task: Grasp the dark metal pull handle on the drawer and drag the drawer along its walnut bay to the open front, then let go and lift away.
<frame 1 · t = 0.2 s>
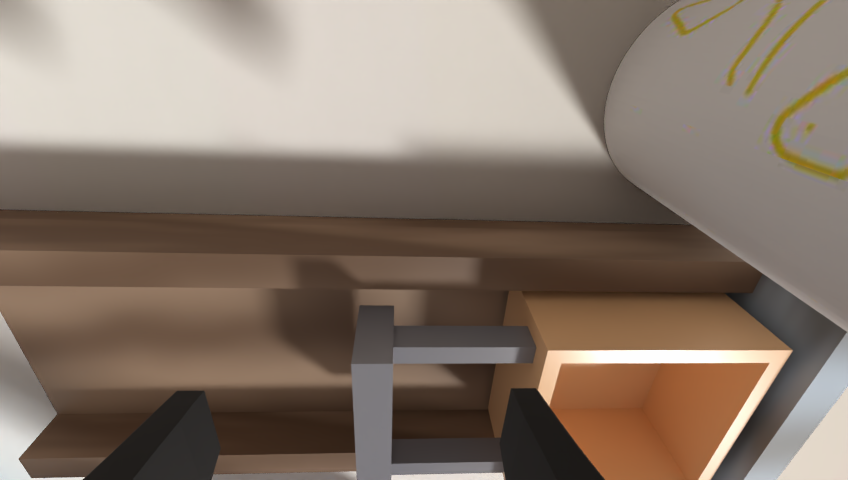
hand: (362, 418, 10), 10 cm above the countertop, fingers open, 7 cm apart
cup: (701, 99, 16), on the countertop
drawer: (536, 386, 18), point 4 cm above the countertop, slide at 0.0 cm
bay: (418, 331, 21), on the countertop
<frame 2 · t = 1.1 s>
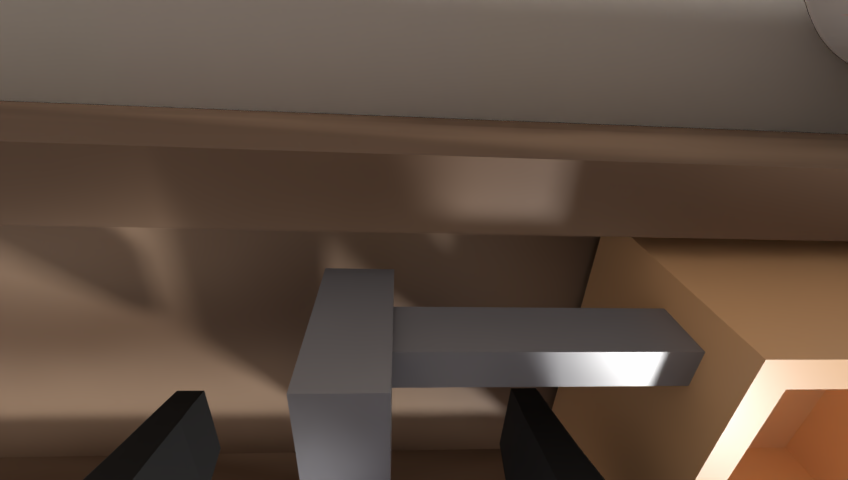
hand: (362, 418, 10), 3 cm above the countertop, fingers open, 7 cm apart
drawer: (651, 423, 10), point 4 cm above the countertop, slide at 0.0 cm
bay: (434, 326, 13), on the countertop
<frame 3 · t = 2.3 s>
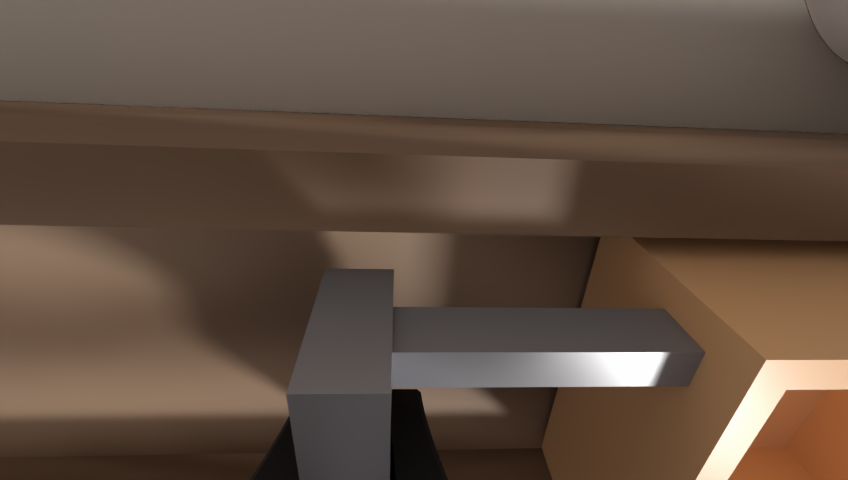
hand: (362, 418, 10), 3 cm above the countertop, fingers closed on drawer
drawer: (651, 423, 10), point 4 cm above the countertop, slide at 0.0 cm, touching gripper
bay: (434, 326, 13), on the countertop
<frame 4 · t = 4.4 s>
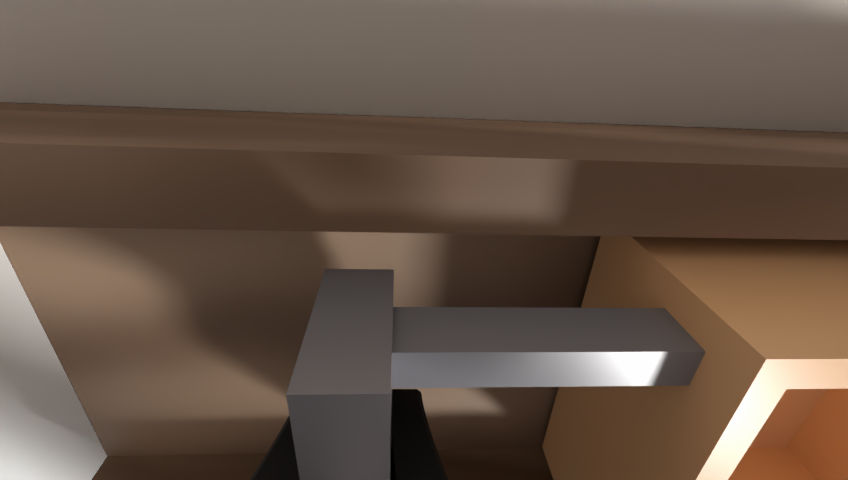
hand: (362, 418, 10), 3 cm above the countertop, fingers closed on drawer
drawer: (651, 422, 10), point 4 cm above the countertop, slide at 8.0 cm, touching gripper
bay: (673, 326, 13), on the countertop
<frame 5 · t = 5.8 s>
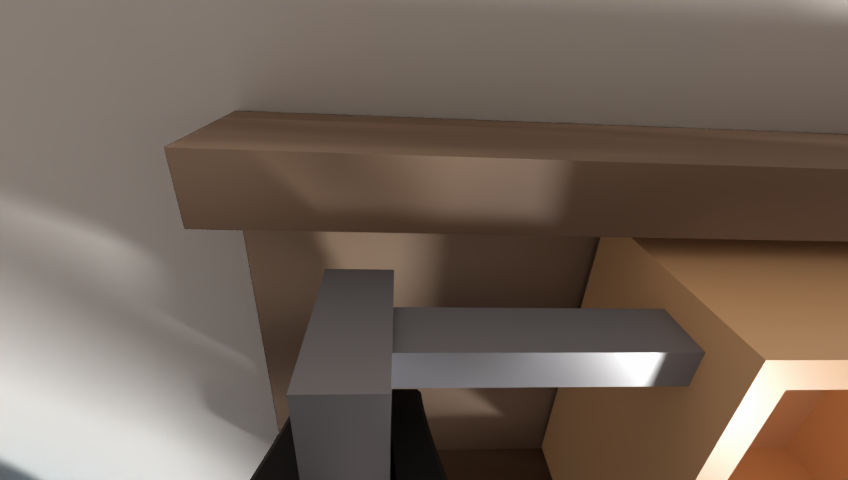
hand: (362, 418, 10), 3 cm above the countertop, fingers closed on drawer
drawer: (651, 423, 10), point 4 cm above the countertop, slide at 13.9 cm, touching gripper
bay: (836, 327, 14), on the countertop
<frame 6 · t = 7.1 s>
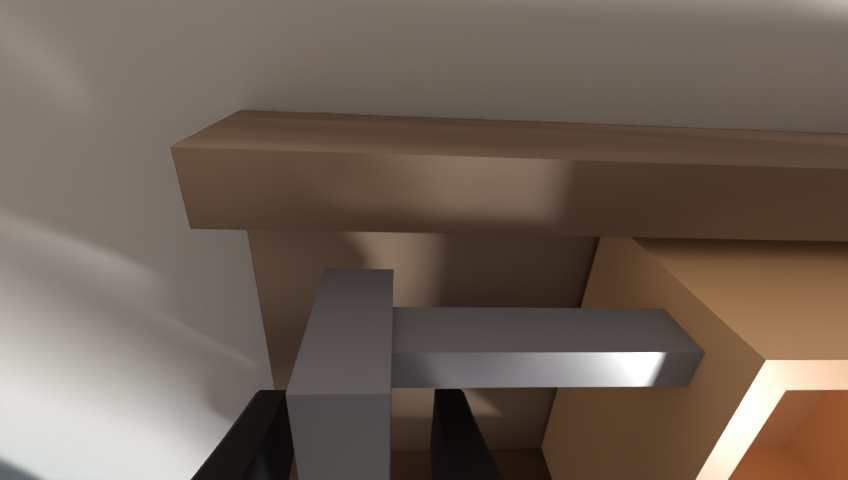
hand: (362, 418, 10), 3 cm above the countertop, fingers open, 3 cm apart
drawer: (650, 423, 10), point 4 cm above the countertop, slide at 14.0 cm
bay: (839, 327, 14), on the countertop
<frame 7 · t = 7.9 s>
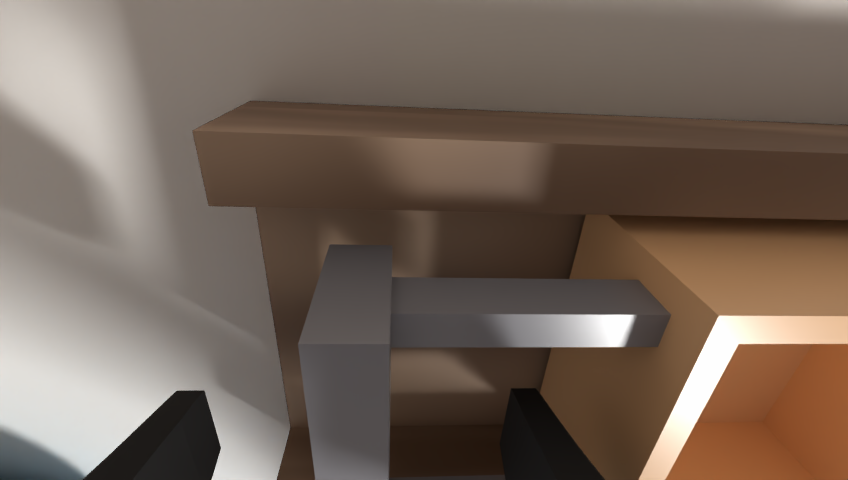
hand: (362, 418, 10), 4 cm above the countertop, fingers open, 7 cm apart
drawer: (630, 391, 11), point 4 cm above the countertop, slide at 14.0 cm
bay: (813, 308, 15), on the countertop
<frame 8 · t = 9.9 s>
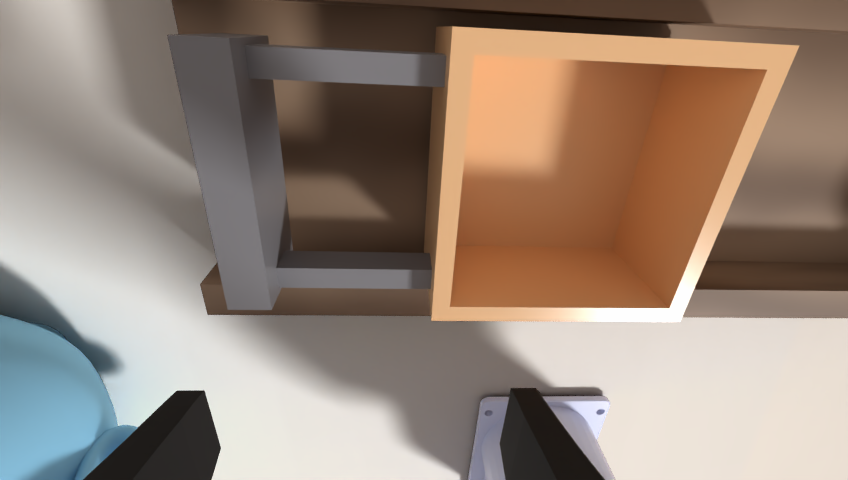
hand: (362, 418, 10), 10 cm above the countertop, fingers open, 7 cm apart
decorative pot: (0, 380, 22), on the countertop
drawer: (466, 173, 14), point 4 cm above the countertop, slide at 14.0 cm
bay: (652, 153, 18), on the countertop
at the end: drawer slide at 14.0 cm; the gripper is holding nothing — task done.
